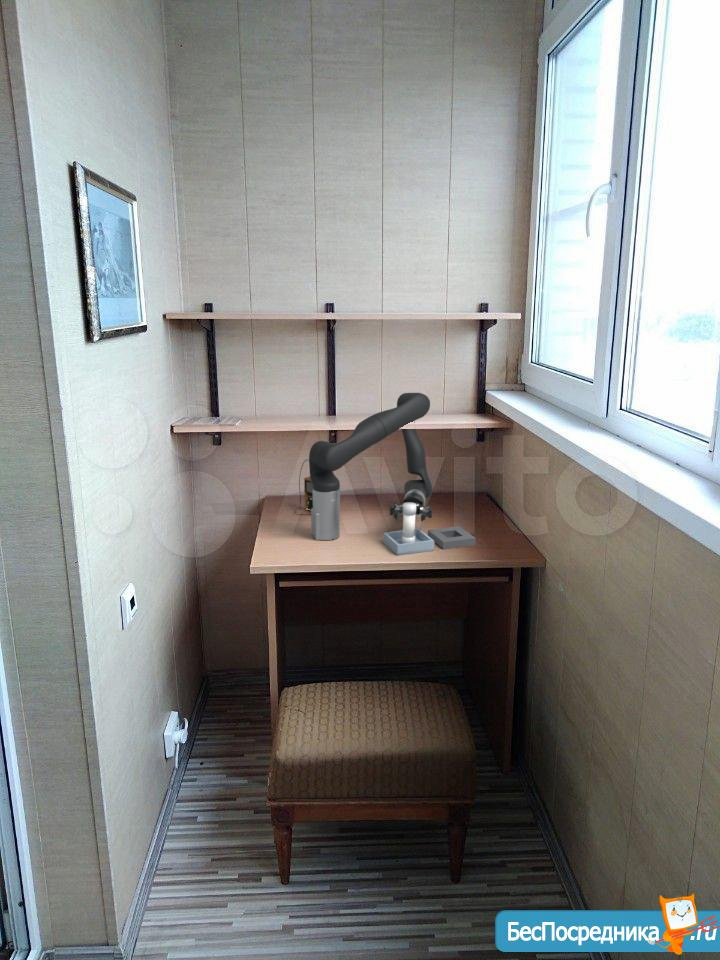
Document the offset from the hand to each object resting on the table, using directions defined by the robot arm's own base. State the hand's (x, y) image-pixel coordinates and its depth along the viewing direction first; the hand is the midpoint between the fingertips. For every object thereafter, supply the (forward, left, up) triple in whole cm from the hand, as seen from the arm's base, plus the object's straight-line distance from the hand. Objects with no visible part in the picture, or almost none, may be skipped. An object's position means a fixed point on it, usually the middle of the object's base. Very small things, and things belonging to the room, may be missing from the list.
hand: (409, 517), depth 222 cm
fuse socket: (+16, 0, -10) cm, 19 cm away
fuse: (0, 0, -9) cm, 10 cm away
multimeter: (-23, +43, -10) cm, 50 cm away
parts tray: (0, 0, -10) cm, 10 cm away
